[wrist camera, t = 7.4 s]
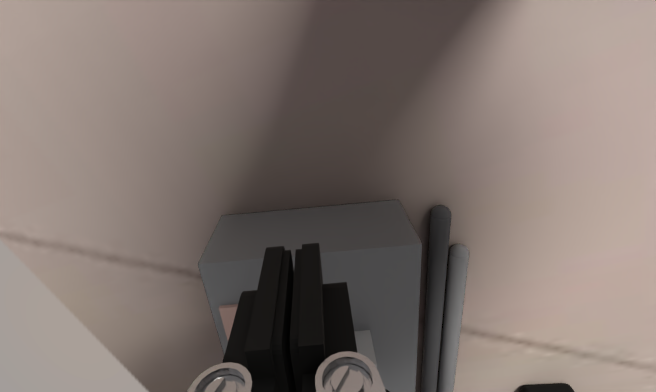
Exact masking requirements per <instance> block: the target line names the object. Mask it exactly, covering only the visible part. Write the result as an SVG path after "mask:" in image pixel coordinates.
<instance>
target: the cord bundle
mask: <svg viewBox="0 0 656 392" xmlns="http://www.w3.org/2000/svg"><path fill="white" fill-rule="evenodd" d="M450 223H451V212H450V210H449V208H448V207H446V206H444V205H438V206H435V207H434V208H433V209H432V211H431V219H430V237H429V255H428V273H427V291H426V309H425V327H424V345H423V363H422V381H421V392H436V389H437V377H438V365H439V354H440V342H441V330H442V318H443V306H444V294H445V282H446V271H447V259H448V247H449V235H450ZM468 260H469V250H468V248H467V247H466V246H464V245H462V244H455V245H453V246H452V247H451V249H450V253H449V264H448V276H447V288H446V299H445V311H444V322H443V334H442V345H441V357H440V368H439V380H438V392H453V389H454V380H455V372H456V363H457V355H458V346H459V337H460V329H461V320H462V311H463V303H464V294H465V286H466V277H467V268H468Z"/></svg>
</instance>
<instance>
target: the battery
mask: <svg viewBox="0 0 656 392" xmlns="http://www.w3.org/2000/svg"><path fill="white" fill-rule="evenodd" d="M520 392H574V390H573V389H572V388H571V387H570V385H568V384H546V385H526V386H523V387H522V388H521V391H520Z"/></svg>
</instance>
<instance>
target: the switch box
mask: <svg viewBox="0 0 656 392" xmlns="http://www.w3.org/2000/svg"><path fill="white" fill-rule="evenodd" d="M310 243H319V247H320V257H321V267H322V277H323V284H329V283H340V282H347V287H348V293H349V300H350V307H351V313H352V320H353V326H354V333H355V339H356V346H357V353H360V354H362V355H364V356H366V357H367V358H369V359H370V360H371V361H372V362H373V363H374V365H375V366H376V368H377V370H378V372H379V374H380V377H381V380H382V382H383V385H384V388H385V389H387V390H388V391H390V392H415V388H416V366H417V344H418V322H419V299H420V277H421V255H422V243H421V241H420V239H419V237H418V235H417V233H416V232H415V230H414V228H413V226H412V224H411V222H410V220H409V218H408V217H407V215H406V213H405V211H404V209H403V207H402V205H401V203H400V201H399V200H389V201H378V202H367V203H356V204H345V205H334V206H323V207H312V208H301V209H290V210H278V211H267V212H256V213H245V214H234V215H223V216H221V218H220V220H219V222H218V224H217V226H216V228H215V230H214V232H213V234H212V236H211V238H210V240H209V243H208V245H207V247H206V249H205V251H204V253H203V255H202V257H201V259H200V261H199V263H198V267H199V270H200V274H201V277H202V281H203V284H204V287H205V291H206V294H207V298H208V301H209V304H210V308H211V311H212V315H213V318H214V322H215V325H216V328H217V332H218V335H219V339H220V342H221V346H222V349H223V352H224V355H225V351H226V348H227V344H228V340H229V337H230V333H231V329H232V325H233V322H234V318H235V314H236V310H237V307H238V303H239V299H240V296H241V293H242V292H243V291H252V290H257V288H258V283H259V278H260V274H261V269H262V264H263V259H264V254H265V250H266V248H267V247H276V246H284V248H285V250H291V254H292V261H293V268H294V266H295V251H296V249H302V244H310Z"/></svg>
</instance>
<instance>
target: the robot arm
mask: <svg viewBox="0 0 656 392" xmlns="http://www.w3.org/2000/svg"><path fill="white" fill-rule="evenodd" d="M187 392H390V391H388V390H387V389H385V388H384V385H383V382H382V380H381V377H380V374H379V372H378V370H377V368H376V366H375V365H374V363H373V362H372V361H371V360H370V359H369V358H367V357H366V356H364V355H362V354H360V353H357V346H356V339H355V333H354V326H353V320H352V313H351V307H350V300H349V293H348V287H347V282H340V283H329V284H323V277H322V267H321V257H320V247H319V243H310V244H302V249H296V251H295V266H294V268H293V261H292V254H291V250H285V248H284V246H276V247H267V248H266V250H265V254H264V259H263V264H262V269H261V274H260V278H259V283H258V288H257V290H252V291H243V292H242V293H241V296H240V299H239V303H238V307H237V310H236V314H235V318H234V322H233V325H232V329H231V333H230V337H229V340H228V344H227V348H226V351H225V355H224V359H223V363H220V364H218V365H215V366H212V367H210V368H209V369H207V370H205V371H204V372H202V373H201V374H200V375H199V376H198V377H197V378H196V379H195V380H194V381H193V383H192V384H191V386H190V387H189V389H188V391H187Z"/></svg>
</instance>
